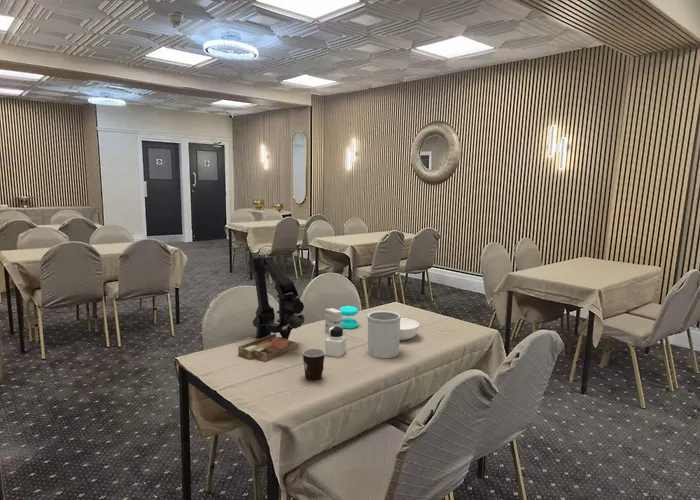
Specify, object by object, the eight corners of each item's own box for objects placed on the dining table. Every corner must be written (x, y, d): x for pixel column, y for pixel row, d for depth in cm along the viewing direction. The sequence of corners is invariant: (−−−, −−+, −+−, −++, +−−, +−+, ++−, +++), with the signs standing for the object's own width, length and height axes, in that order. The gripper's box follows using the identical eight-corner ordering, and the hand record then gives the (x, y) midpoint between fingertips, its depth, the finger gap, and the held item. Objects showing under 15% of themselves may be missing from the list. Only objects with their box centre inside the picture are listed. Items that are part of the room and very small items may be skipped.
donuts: (359, 306, 246) (356, 311, 236) (359, 324, 247) (355, 330, 238) (341, 304, 248) (337, 309, 238) (341, 322, 249) (336, 328, 240)
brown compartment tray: (238, 355, 201) (238, 346, 200) (275, 341, 219) (275, 333, 219) (262, 363, 193) (262, 354, 192) (298, 348, 211) (298, 339, 210)
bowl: (376, 340, 223) (377, 326, 222) (388, 329, 240) (388, 316, 239) (413, 346, 216) (414, 331, 215) (422, 334, 233) (423, 320, 232)
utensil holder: (361, 356, 203) (362, 317, 200) (372, 345, 216) (373, 308, 214) (394, 361, 198) (395, 321, 195) (402, 349, 211) (404, 312, 209)
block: (271, 347, 205) (271, 339, 204) (279, 344, 209) (279, 336, 208) (279, 349, 202) (279, 342, 201) (287, 346, 206) (287, 338, 205)
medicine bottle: (345, 352, 207) (346, 326, 205) (340, 357, 200) (340, 331, 199) (331, 349, 209) (331, 324, 208) (325, 355, 203) (325, 329, 201)
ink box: (342, 334, 231) (343, 311, 229) (334, 335, 228) (335, 312, 226) (332, 329, 238) (332, 307, 236) (324, 331, 235) (324, 308, 233)
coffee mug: (302, 372, 184) (302, 348, 183) (324, 372, 185) (324, 348, 183) (302, 385, 173) (302, 360, 171) (325, 385, 173) (325, 359, 172)
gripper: (284, 316, 194) (284, 352, 196) (312, 307, 209) (312, 340, 211) (265, 312, 200) (265, 346, 203) (294, 303, 215) (294, 335, 218)
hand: (285, 342), depth 208 cm, fingers closed
